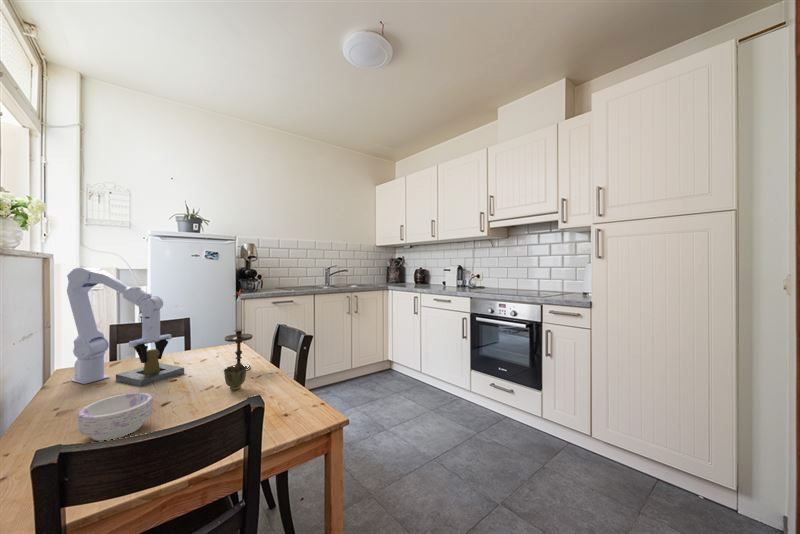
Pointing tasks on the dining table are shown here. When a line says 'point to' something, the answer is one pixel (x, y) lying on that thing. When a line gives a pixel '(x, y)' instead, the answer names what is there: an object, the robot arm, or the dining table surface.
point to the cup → (235, 376)
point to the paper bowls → (115, 416)
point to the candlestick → (238, 333)
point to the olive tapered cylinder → (151, 362)
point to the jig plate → (141, 380)
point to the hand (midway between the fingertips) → (151, 360)
